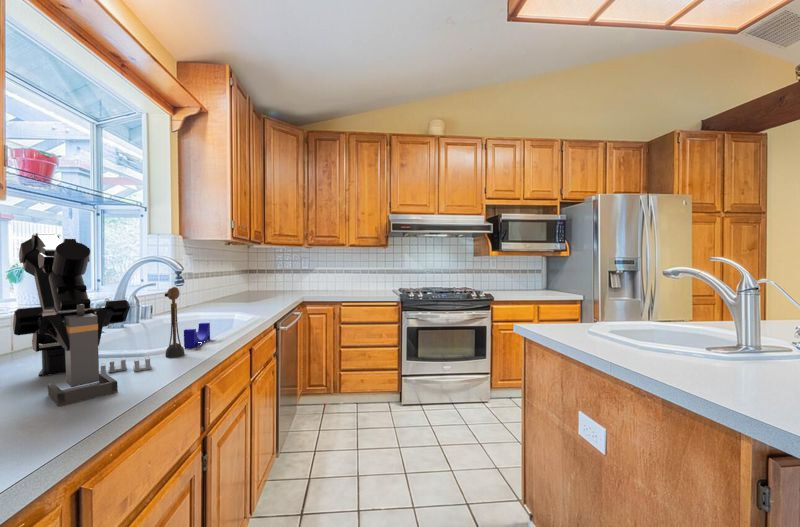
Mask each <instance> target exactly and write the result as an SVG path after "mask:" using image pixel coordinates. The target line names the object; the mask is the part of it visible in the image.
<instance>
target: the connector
mask: <svg viewBox="0 0 800 527" xmlns="http://www.w3.org/2000/svg"><path fill="white" fill-rule="evenodd" d="M64 324H65V325H64V327H65V330H66V333H67V337H68V340H69V347H70V349H69V351H66V350H65V355H66V373H65V380H66V384H68V386H69V387H70V388H73V387H78V386H82V385H87V384H92V383H96V382H99V371H100V366H99V365H100V364H99V363H100V361H99V360H100V359H99V346H98V321H97V315H94V314H92V313H91V314H85V312H84V304H78V305H77V315H72V316H64Z"/></svg>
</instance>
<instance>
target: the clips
mask: <svg viewBox="0 0 800 527" xmlns="http://www.w3.org/2000/svg"><path fill="white" fill-rule="evenodd" d="M133 361H134V362H133V363H134V364H133V366H132V367H133V372H134V373H136V372H135V371H137V372H142V371H141V370H143V371H147V370H148V369H149V370H152V365H151V358H150V355H149V356H145V357H144V364H140V358H139V357H134V359H133ZM126 363H127V361H126V357H125V356H124V357H120V365H115V358H110V359H109V366H108V370H106V369H107V368H106V367H107V366H106V365H107V364H106V362H101V363H100V370H99V374H101V373H105V374H107V375H108V373H109V374H110V372H112V373H117V372H116V371H118V372H123V371H122V370H124V371H127V370H128V368H127V364H126Z"/></svg>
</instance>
